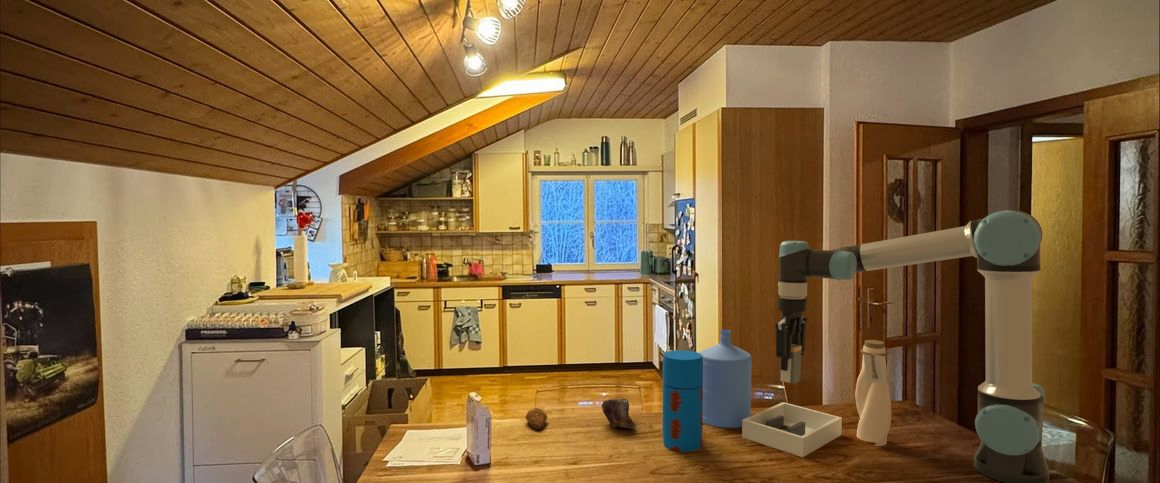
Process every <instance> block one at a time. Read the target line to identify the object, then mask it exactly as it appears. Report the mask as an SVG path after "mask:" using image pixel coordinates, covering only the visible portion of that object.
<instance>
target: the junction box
mask: <svg viewBox="0 0 1160 483" xmlns="http://www.w3.org/2000/svg"><path fill="white" fill-rule="evenodd" d="M779 415H781V416H784V425H787V426H790V427H791V426H793V425H795V424H797V423H799V422H801V421H803V422H805V435H803V436H799V435H796V434H793V433H789V432H787V430H783V429H781V430H779V429H776V428H773V427H769V426H766V421H769V420H771V419H773V418H775V417H777V416H779ZM842 419H843V418H842V417H840V416H837V415H833V414H830V413H826V412H823V411H818V410H816V409H815V410H814V409H810V408H807V407H804V406H803V407H802V406H799V405H795V404H792V403H788V402H784V401H782V402H780V403H778V404H776V405H774V406H771V407H769V408H766V409H764V410H762V411H759V412H757V413H755V414H753V415H752V414H751V416H750V417H748V418H745V419H743V420H742V427H741V429H742V431H741V437H742V439H746V440H749V441H751V442H755V443H757V444H761V445H764V446H767V447H770V448H773V449H776V450H778V451H779V450H780V451H782V452H785V453H788V454H791V455H794V456H797V457H800V458H804V457H806V456H808V455H810V454H812V452H815V451H816V450H818V449H820V448H821V447H823V446H825V445H827V444H829V443H830V442H832V441H834V440H836V439H837V438H839V437H841V436H842V427H843V426H842V422H843V421H842Z"/></svg>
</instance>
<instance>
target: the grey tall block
mask: <svg viewBox="0 0 1160 483" xmlns="http://www.w3.org/2000/svg"><path fill="white" fill-rule="evenodd" d="M801 350H802V346H801V345H796V344H791V352H790V358H789V359H791V382H790V383H789V384H796V383H799V382H801V368H802V366H801V364H802V362H801V361H802V356H801ZM779 359H780V360H779V376H780V375H781V358H779Z"/></svg>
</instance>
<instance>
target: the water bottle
mask: <svg viewBox="0 0 1160 483" xmlns="http://www.w3.org/2000/svg"><path fill="white" fill-rule="evenodd" d="M860 353H861V354H862V360H861V361H862V364H861V370H860V373H859V375H858V377H857V379H856V385H855V392H854V398H855V404H856V405H855V406H856V409H857V410H856V411H857V414H858V416H859V421H858V423H857V430H856V437H857V438H858V439H859V440H861V441H864V442H866V443H867V442H868V443H874V444H873V445H872V447H883V446H886V445H887V444H888V435H889V432H890V428H891V422H892V404H891V392H890V388H889V385H888V381H887V377H888V376H887V375H888V374H887V373H888V372H887V371H888V369H887V362H886V357H887V356H889V351H888V350H886V346H885V342H884V341H881V340H877V339H866V340H864V344H863V347H862V348H861V349H860Z"/></svg>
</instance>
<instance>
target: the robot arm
mask: <svg viewBox="0 0 1160 483" xmlns="http://www.w3.org/2000/svg"><path fill="white" fill-rule="evenodd" d="M1042 240H1043V230H1042V227H1041V224H1040V222H1039V221H1038V220H1037V218H1035V217H1034V216H1033V215H1032V214H1029V213H1027V212H1025V211H1022V210H1017V209H1006V210H997V211H995V212H992V213H990V214H988V215H986V216H985V217H984V218H980V219H976V220H975V219H974V220H970V221H969V222H968V223H967V224H966V225H964V226H959V227H952V228H947V229H942V230H936V231H935V230H934V231H930V232H924V233H919V234H913V235H908V236H907V235H906V236H901V237H896V238H891V239H885V240H880V241H879V240H878V241H873V242H867V243H861V244H857V245H856V244H855V245H852V246H851V245H850V246H849V245H848V246H842V247H840V248H834V249H831V250H829V249H828V250H827V249H814V248H813V249H812V248H810V247H809V243H808V242H807V241H804V240H784V241H782V242H781V243H780V244H779V252H778V253H779V254H778V283H777V287H778V290H777V291H778V292H777V293H778V295H779V296H778V298H777V309H778V311H780V312H781V317H780V321H775V323H774V324H775V329H776V330H775V331H776V333H775V334H776V339H775V340H776V342H775V346H776V350H775V351H776V352H775V355H776V358H779V359H780V358H781V375H780V374H779V381H780V382H784V383H788V384H791V383H790V382H791V359H789V358H790V352H791V344H796V345H801V346H802V350H801V357H802V356H803V357H804V355H805V353H804V352H805V350H806V349H805V348H806V346H805V344H806V328H807V321H808V317H806V316H803V314H802V313H805V312H806V311H807V306H808V305H807V304H808V302H807V301H808V300H807V298H806V297H807V296H808V278H819V279H831V280H836V281H843V280H845V281H850V280H853V279H854V278H855V275H856V274H857V273H863V272H869V271H875V270H884V269H890V268H896V267H898V268H899V267H904V266H911V265H918V264H926V263H932V262H938V261H946V260H953V259H959V258H967V257H974V258H976V262H977V264H976V269H977V270H976V271H977V272H979V273H980V274H981V275H982V276H983V278H985V279H984V294H985V295H984V296H985V300H984V301H985V302H984V303H985V304H984V305H985V307H984V311H985V312H984V313H985V314H984V316H985V320H984V321H985V322H984V324H985V325H984V327H985V333H984V334H985V343H984V344H985V380H984V381H983V382H982V383H980V384H979V385H978V387H977V414H976V416H975V418H974V425H975V430H976V433H977V436H978V438H979V439H980V440H981V442H980V444H979V446H978V448H977V450H976V452H975V454H974V457H973V458H974V459H973V467H974V468H975V470H976V471H977V472H979V473H980V474H982V475H984V476H985V477H987V478H991V479H993V480H996V481H997V482H998V481H999V482H1002V483H1050V469H1049V466H1048V463H1047V461H1046V457H1045V454H1044V451H1043V448H1042V444H1043V427H1044V426H1043V424H1044V406H1045V399H1046V397H1045V390H1044V388H1043V386H1041V385H1040V384H1037V383H1034V382H1033V351H1032V350H1033V329H1032V328H1033V318H1032V317H1033V314H1032V313H1033V311H1032V310H1033V296H1032V295H1033V293H1032V292H1033V288H1032V287H1033V286H1032V285H1033V283H1032V282H1033V281H1032V280H1033V278H1034V277H1036V276H1037V275H1038V274H1039V273H1041V243H1042Z"/></svg>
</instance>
